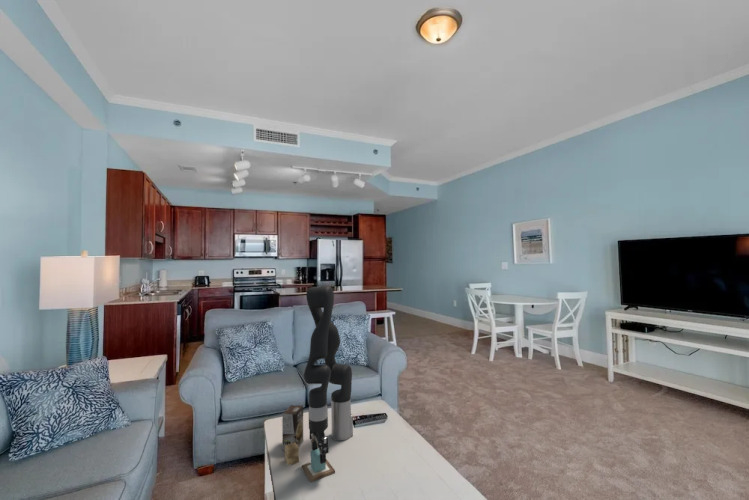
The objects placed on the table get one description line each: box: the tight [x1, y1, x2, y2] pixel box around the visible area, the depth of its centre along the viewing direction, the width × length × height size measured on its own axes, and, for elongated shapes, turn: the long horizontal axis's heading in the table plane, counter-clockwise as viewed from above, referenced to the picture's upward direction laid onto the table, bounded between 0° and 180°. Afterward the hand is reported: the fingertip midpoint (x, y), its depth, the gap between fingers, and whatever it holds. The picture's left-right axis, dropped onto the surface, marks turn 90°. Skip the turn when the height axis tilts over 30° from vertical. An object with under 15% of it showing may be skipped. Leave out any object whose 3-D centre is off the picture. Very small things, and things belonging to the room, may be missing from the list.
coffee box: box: [281, 405, 304, 452], centre depth 150 cm, size 9×6×16 cm
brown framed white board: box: [301, 458, 336, 483], centre depth 132 cm, size 10×10×1 cm
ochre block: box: [284, 442, 300, 466], centre depth 139 cm, size 4×4×6 cm
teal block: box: [310, 448, 326, 472], centre depth 132 cm, size 4×4×6 cm
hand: (318, 457), depth 132 cm, fingers open, 8 cm apart
